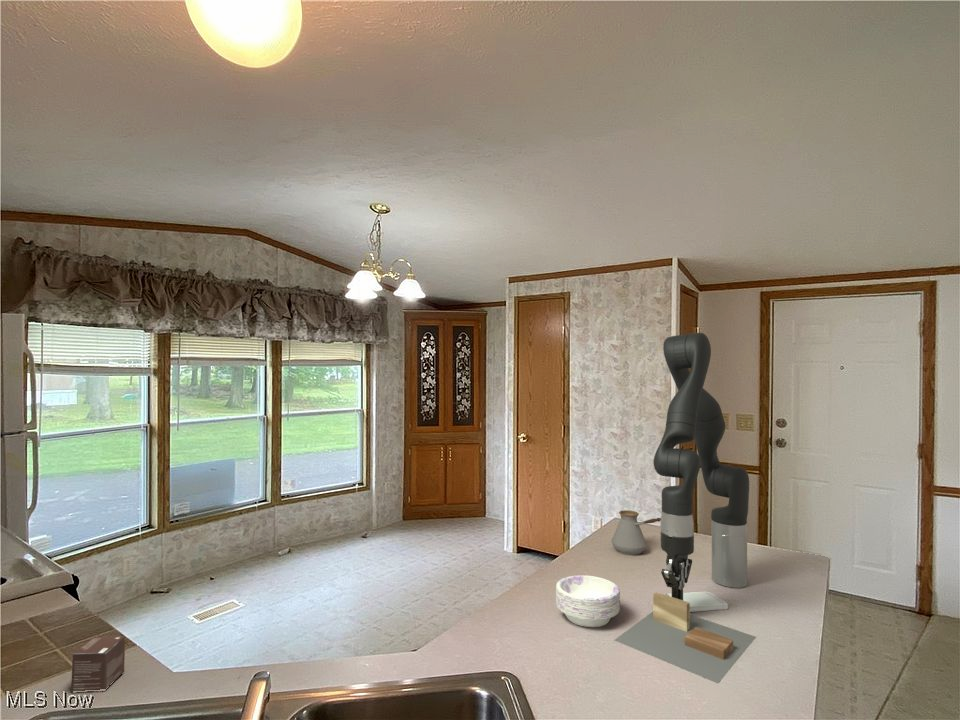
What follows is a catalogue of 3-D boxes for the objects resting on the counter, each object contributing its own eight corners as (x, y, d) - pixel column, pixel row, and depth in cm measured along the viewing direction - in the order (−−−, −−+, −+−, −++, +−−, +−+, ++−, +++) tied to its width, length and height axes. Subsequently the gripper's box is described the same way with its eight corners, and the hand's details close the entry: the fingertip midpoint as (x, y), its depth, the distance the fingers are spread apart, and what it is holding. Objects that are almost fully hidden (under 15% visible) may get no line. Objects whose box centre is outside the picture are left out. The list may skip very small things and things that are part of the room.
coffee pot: (604, 548, 171) (604, 504, 171) (629, 543, 176) (629, 500, 176) (652, 570, 152) (651, 520, 152) (678, 563, 157) (678, 515, 157)
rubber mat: (661, 606, 128) (661, 604, 128) (756, 638, 112) (756, 636, 112) (614, 641, 110) (614, 639, 111) (717, 685, 95) (717, 683, 95)
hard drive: (684, 606, 123) (728, 603, 126) (665, 593, 131) (707, 590, 134) (684, 613, 123) (728, 610, 126) (665, 599, 131) (707, 596, 134)
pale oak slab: (656, 617, 121) (656, 592, 121) (689, 628, 116) (689, 602, 116) (653, 619, 120) (653, 594, 120) (686, 631, 114) (686, 605, 114)
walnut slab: (695, 626, 113) (684, 636, 109) (733, 640, 107) (723, 651, 103) (695, 635, 113) (684, 645, 109) (733, 648, 107) (723, 659, 103)
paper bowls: (572, 599, 132) (572, 568, 132) (628, 615, 123) (628, 582, 123) (544, 622, 119) (544, 588, 120) (605, 642, 110) (605, 605, 111)
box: (92, 674, 97) (94, 636, 98) (125, 673, 98) (126, 635, 98) (69, 694, 91) (71, 653, 92) (104, 692, 92) (105, 652, 92)
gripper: (673, 522, 128) (673, 590, 128) (649, 533, 119) (650, 607, 118) (703, 528, 123) (703, 599, 122) (681, 540, 114) (681, 618, 113)
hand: (677, 603), depth 120 cm, fingers closed
